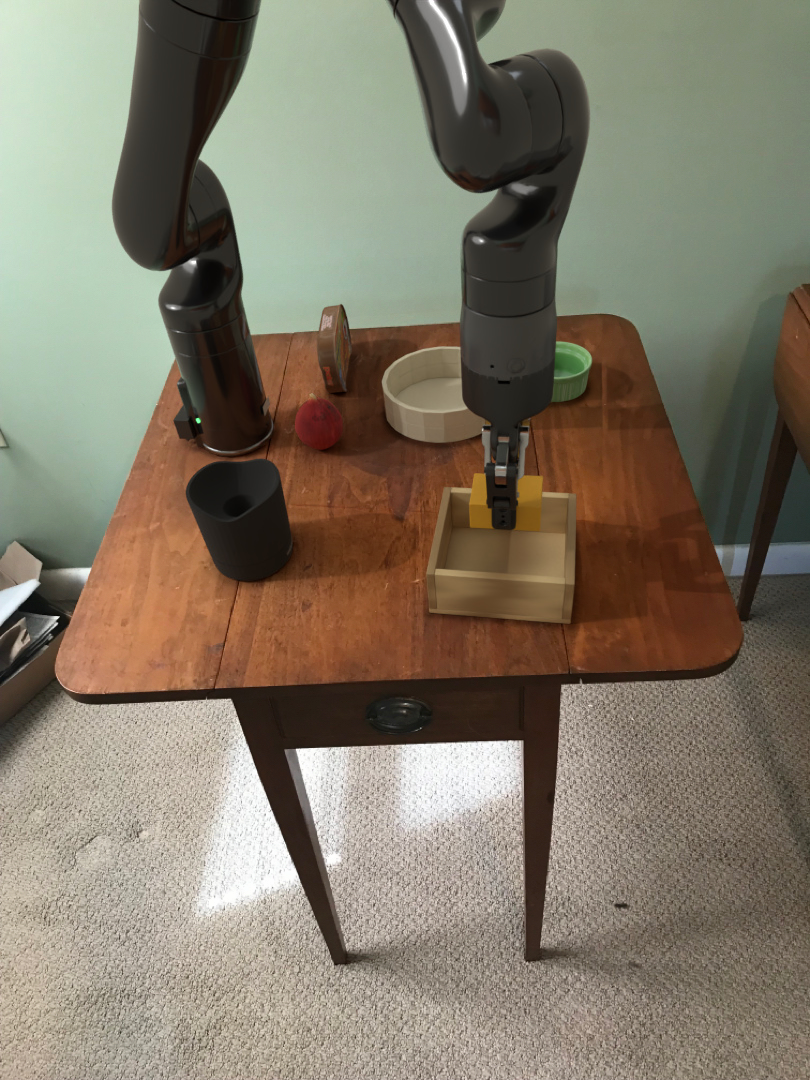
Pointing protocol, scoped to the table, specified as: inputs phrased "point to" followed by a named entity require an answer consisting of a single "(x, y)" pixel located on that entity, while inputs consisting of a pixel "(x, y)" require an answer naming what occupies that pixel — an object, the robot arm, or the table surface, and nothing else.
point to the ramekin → (570, 371)
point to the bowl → (429, 397)
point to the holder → (503, 563)
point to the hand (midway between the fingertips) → (505, 508)
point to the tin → (334, 347)
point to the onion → (318, 423)
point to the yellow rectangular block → (525, 511)
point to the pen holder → (242, 517)
